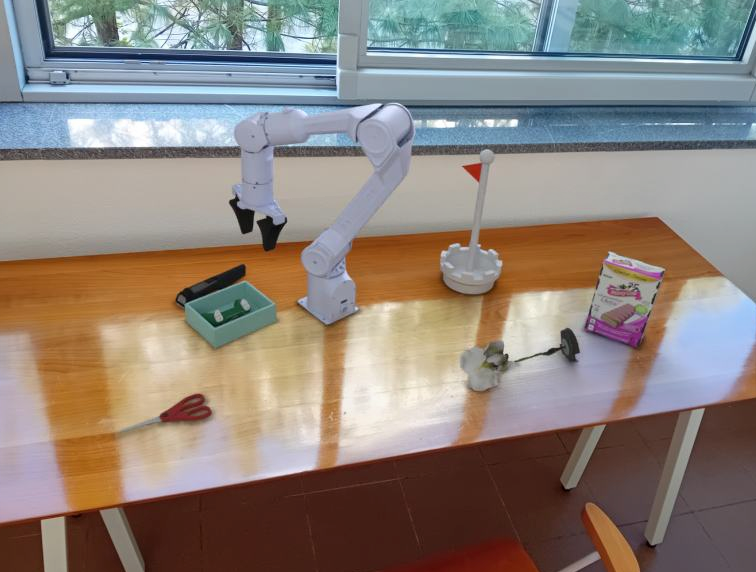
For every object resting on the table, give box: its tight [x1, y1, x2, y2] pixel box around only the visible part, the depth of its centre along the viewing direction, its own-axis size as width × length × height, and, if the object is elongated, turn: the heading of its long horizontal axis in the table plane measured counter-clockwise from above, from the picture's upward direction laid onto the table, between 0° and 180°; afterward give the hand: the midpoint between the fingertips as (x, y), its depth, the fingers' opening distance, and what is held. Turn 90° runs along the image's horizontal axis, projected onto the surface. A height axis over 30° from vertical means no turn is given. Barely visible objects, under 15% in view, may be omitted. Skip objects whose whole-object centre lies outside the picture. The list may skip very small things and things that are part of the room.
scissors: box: [115, 393, 212, 434], centre depth 114 cm, size 5×14×1 cm, turn 123°
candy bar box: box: [584, 251, 666, 349], centre depth 141 cm, size 11×5×16 cm, turn 65°
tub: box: [184, 279, 277, 349], centre depth 136 cm, size 10×13×4 cm
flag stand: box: [439, 148, 503, 295], centre depth 149 cm, size 13×13×30 cm
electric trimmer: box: [175, 263, 247, 309], centre depth 144 cm, size 4×16×3 cm, turn 142°
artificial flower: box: [459, 327, 581, 392], centre depth 131 cm, size 9×22×10 cm, turn 109°
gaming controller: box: [200, 299, 251, 327], centre depth 135 cm, size 9×4×6 cm
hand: (258, 240), depth 142 cm, fingers open, 7 cm apart
